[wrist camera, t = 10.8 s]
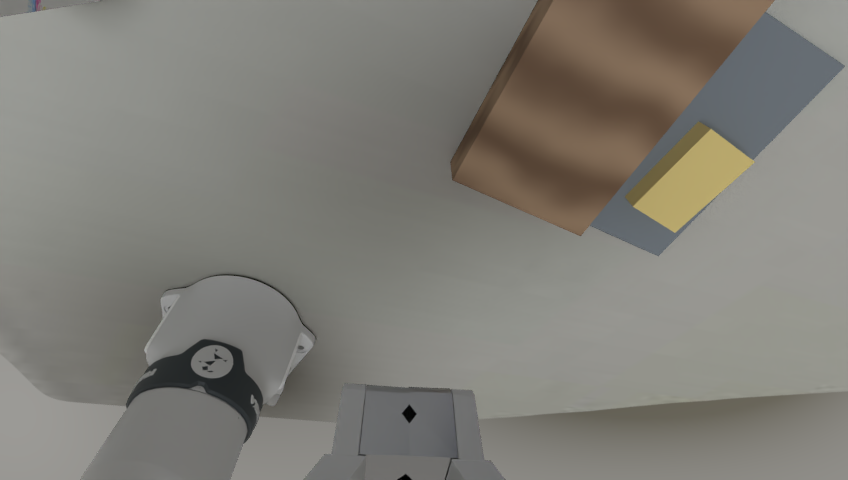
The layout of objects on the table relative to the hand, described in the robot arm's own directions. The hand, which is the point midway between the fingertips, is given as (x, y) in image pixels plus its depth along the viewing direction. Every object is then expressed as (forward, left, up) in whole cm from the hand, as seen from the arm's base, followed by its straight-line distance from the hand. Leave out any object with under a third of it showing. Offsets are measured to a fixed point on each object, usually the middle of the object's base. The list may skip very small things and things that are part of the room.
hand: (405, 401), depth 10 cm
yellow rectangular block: (+3, -27, -29) cm, 40 cm away
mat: (+5, -26, -32) cm, 42 cm away
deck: (+5, -13, -32) cm, 35 cm away
